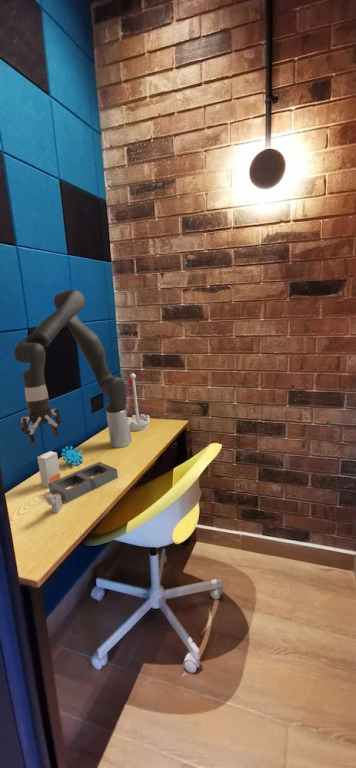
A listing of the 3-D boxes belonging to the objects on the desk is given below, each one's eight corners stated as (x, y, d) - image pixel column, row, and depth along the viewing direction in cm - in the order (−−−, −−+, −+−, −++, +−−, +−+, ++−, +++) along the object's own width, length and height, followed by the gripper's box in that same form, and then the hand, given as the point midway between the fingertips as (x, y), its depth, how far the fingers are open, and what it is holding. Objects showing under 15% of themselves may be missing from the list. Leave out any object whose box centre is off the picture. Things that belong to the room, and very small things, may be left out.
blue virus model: (71, 467, 144) (58, 448, 147) (64, 475, 146) (51, 456, 149) (89, 459, 154) (77, 442, 156) (83, 467, 156) (70, 450, 159)
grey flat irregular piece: (57, 506, 118) (54, 484, 117) (62, 505, 118) (59, 484, 116) (48, 518, 111) (44, 495, 110) (53, 518, 111) (49, 495, 110)
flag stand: (155, 425, 191) (150, 372, 185) (137, 433, 182) (131, 376, 176) (139, 422, 200) (133, 370, 194) (121, 429, 191) (115, 375, 184)
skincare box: (49, 488, 131) (43, 458, 128) (41, 486, 133) (36, 456, 131) (62, 481, 136) (57, 452, 133) (54, 479, 138) (50, 450, 136)
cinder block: (100, 469, 143) (99, 461, 142) (118, 477, 135) (117, 469, 134) (49, 492, 128) (48, 483, 127) (66, 503, 120) (65, 493, 119)
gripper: (50, 392, 135) (57, 431, 138) (13, 401, 125) (21, 443, 128) (60, 394, 130) (66, 435, 133) (22, 403, 120) (30, 448, 123)
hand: (44, 439), depth 131 cm, fingers open, 8 cm apart
